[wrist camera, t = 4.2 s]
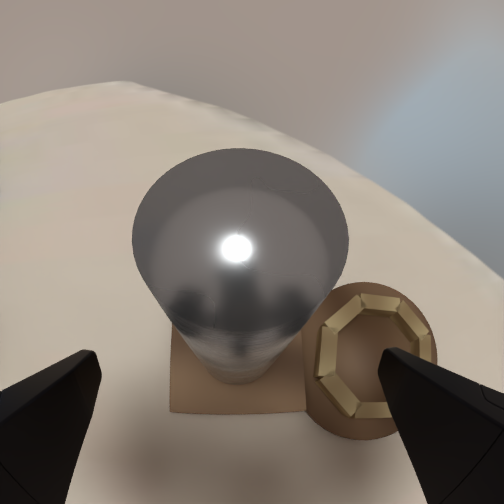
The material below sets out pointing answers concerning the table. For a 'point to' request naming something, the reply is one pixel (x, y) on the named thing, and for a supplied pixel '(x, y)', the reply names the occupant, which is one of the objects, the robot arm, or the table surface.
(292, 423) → the table surface
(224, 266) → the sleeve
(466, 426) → the robot arm
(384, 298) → the hub seat
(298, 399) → the stand pad
